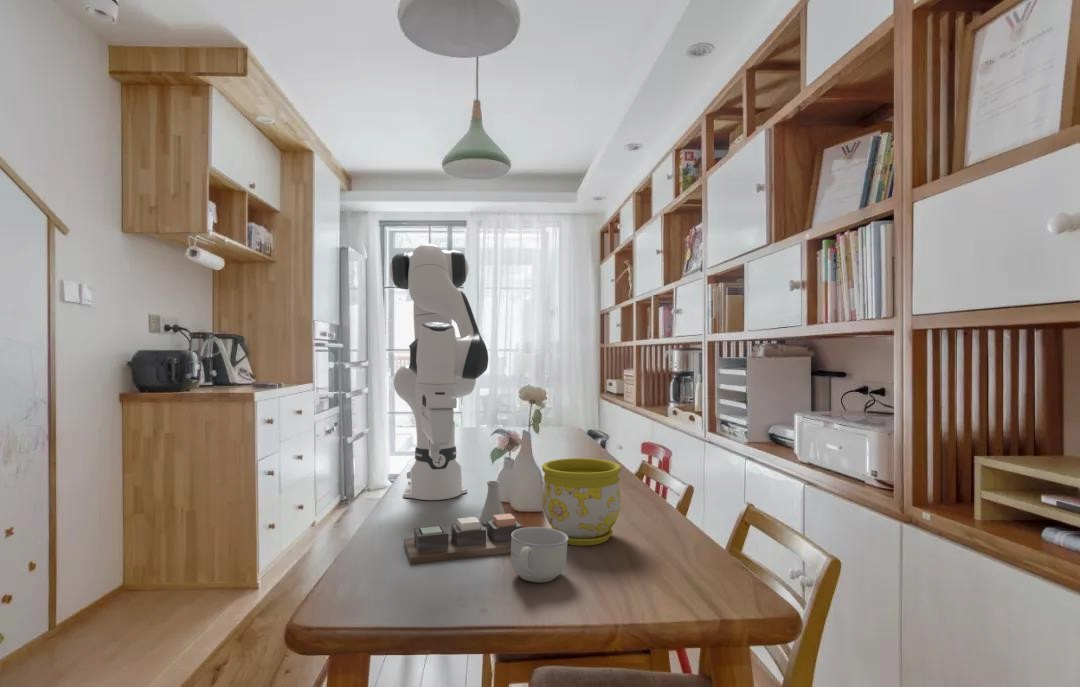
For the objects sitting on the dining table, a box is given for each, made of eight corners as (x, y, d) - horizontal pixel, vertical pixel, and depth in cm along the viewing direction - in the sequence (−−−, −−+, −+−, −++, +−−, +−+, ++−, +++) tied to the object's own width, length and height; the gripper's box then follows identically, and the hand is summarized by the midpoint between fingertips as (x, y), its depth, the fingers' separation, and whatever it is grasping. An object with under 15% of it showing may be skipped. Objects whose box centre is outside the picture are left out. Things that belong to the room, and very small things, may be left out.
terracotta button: (493, 524, 130) (493, 515, 130) (510, 522, 131) (510, 513, 131) (497, 529, 126) (497, 520, 126) (515, 527, 128) (515, 518, 128)
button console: (403, 545, 127) (403, 525, 127) (517, 533, 136) (517, 514, 136) (410, 564, 116) (410, 542, 116) (534, 550, 125) (534, 529, 125)
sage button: (420, 537, 125) (420, 528, 125) (439, 535, 126) (439, 526, 126) (422, 543, 121) (423, 533, 121) (442, 541, 122) (442, 531, 122)
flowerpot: (527, 542, 130) (527, 468, 130) (562, 521, 146) (562, 455, 146) (603, 555, 122) (603, 476, 122) (631, 532, 138) (631, 462, 138)
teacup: (530, 562, 118) (530, 522, 118) (578, 573, 112) (578, 531, 112) (489, 586, 106) (489, 541, 106) (541, 599, 100) (541, 552, 100)
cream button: (457, 527, 127) (457, 518, 127) (475, 525, 129) (475, 516, 129) (461, 533, 124) (461, 523, 124) (479, 531, 125) (479, 521, 125)
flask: (503, 527, 141) (503, 485, 141) (474, 525, 143) (474, 484, 143) (510, 518, 148) (510, 479, 148) (483, 517, 150) (483, 478, 150)
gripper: (415, 390, 138) (413, 448, 139) (427, 401, 119) (425, 469, 119) (441, 390, 140) (440, 447, 141) (458, 401, 121) (456, 467, 122)
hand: (433, 457), depth 130 cm, fingers closed
